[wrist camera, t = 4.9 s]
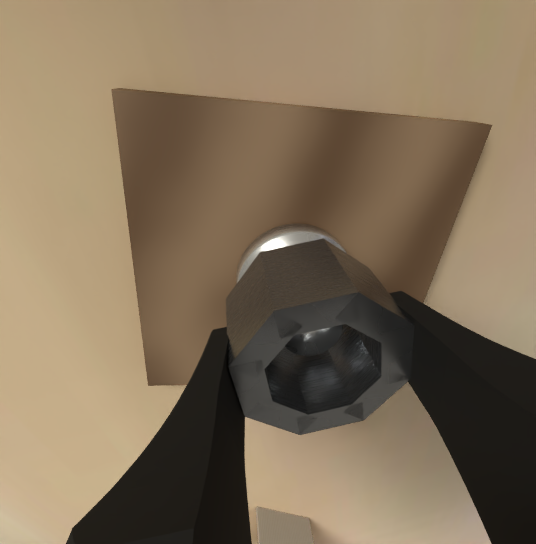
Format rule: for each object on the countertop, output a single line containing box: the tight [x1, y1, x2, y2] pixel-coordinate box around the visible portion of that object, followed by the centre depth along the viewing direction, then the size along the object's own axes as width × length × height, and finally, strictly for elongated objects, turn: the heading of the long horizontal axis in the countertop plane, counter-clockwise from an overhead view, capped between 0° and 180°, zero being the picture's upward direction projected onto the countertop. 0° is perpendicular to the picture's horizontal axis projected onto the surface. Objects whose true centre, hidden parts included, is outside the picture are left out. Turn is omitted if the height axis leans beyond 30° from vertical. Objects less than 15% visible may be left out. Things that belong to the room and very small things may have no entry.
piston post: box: [236, 223, 346, 356], centre depth 14 cm, size 5×5×4 cm
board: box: [112, 88, 492, 386], centre depth 16 cm, size 14×14×1 cm
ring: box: [226, 238, 414, 435], centre depth 12 cm, size 6×6×4 cm
